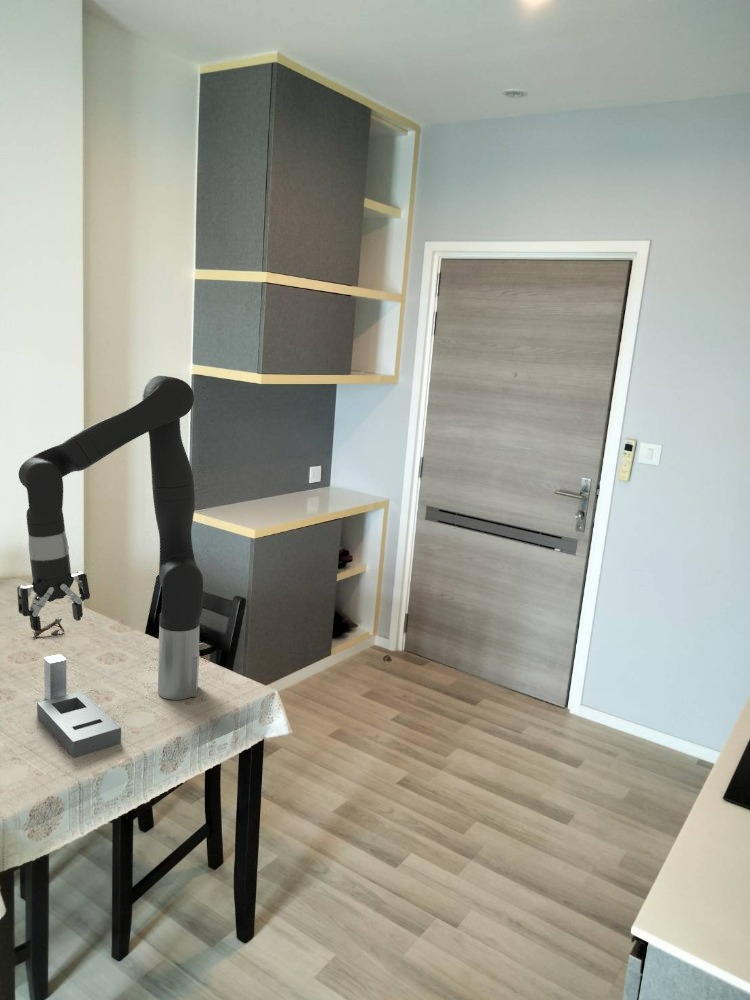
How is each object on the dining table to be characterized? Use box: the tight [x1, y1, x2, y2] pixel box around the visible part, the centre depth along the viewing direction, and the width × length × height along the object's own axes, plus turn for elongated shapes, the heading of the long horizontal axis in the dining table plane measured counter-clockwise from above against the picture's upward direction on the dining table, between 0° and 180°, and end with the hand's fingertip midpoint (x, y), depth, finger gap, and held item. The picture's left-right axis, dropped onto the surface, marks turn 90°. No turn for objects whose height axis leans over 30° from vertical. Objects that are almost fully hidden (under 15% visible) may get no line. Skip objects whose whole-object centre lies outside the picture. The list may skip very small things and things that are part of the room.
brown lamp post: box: [31, 617, 65, 639], centre depth 209 cm, size 2×8×4 cm, turn 127°
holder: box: [36, 690, 122, 758], centre depth 162 cm, size 20×10×4 cm, turn 43°
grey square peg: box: [43, 654, 67, 700], centre depth 174 cm, size 4×4×10 cm
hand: (57, 625), depth 162 cm, fingers open, 8 cm apart
